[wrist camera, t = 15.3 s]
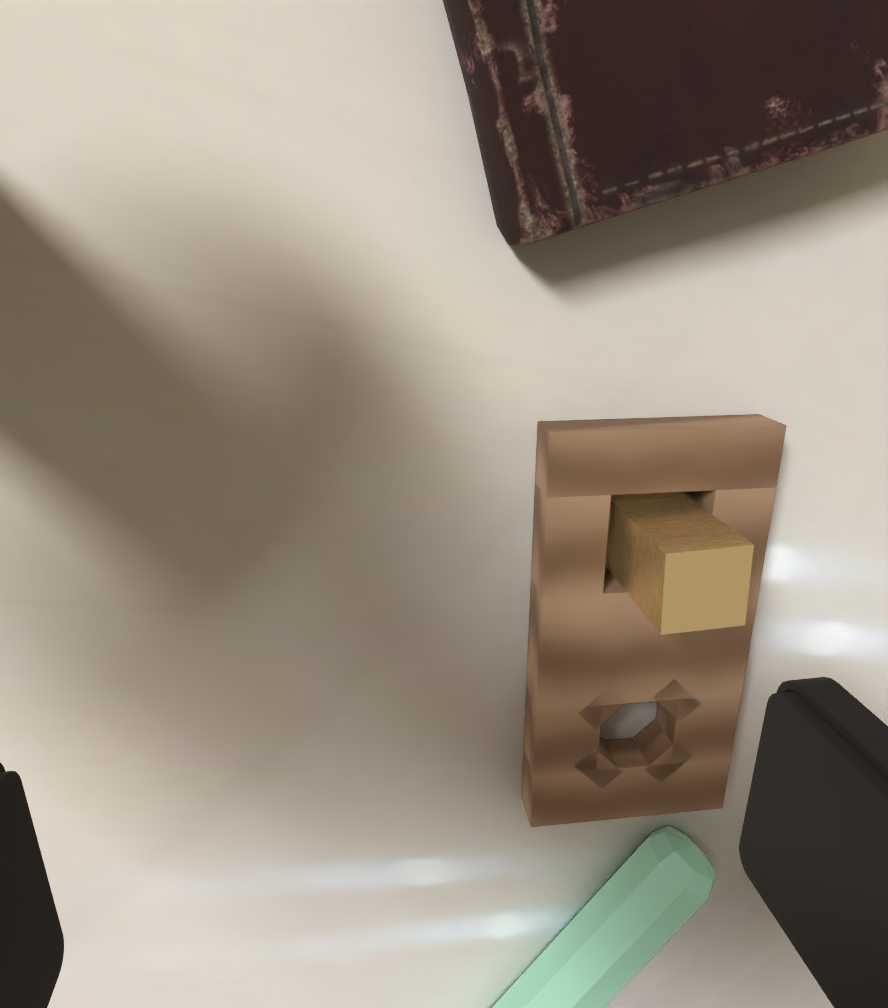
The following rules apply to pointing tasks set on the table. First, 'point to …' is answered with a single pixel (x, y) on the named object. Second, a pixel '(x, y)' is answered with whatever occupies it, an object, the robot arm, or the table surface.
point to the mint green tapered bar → (618, 927)
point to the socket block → (634, 619)
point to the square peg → (678, 562)
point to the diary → (657, 96)
